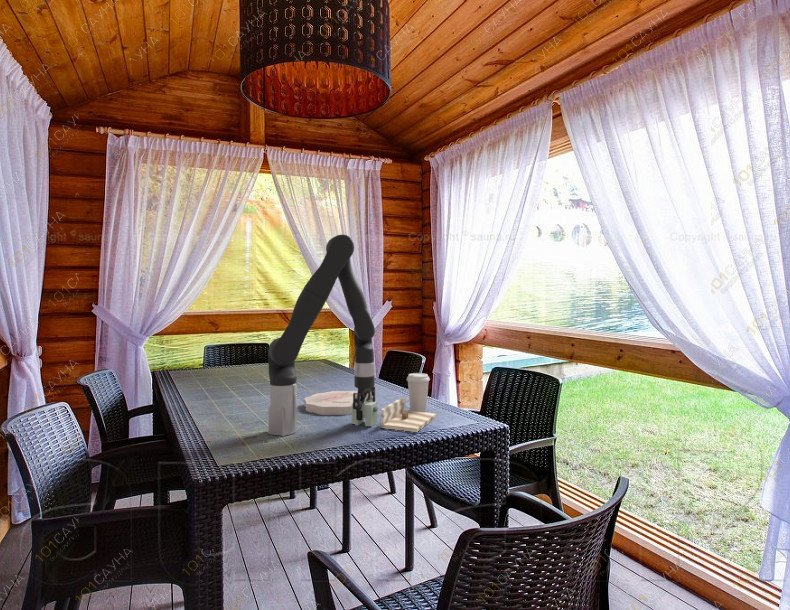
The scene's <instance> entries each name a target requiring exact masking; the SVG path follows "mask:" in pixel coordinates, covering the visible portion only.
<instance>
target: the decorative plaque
mask: <svg viewBox="0 0 790 610" xmlns="http://www.w3.org/2000/svg"><path fill="white" fill-rule="evenodd" d="M357 392H358V390H333V391H326V392H319V393H318V392H317V393H314V394H312V395H310V396H307V397H304V399H303V401H304V405H303V406H305V407H306V408H305V407H304V408H305V411H306V412H307V411H308V412H307V413H312V412H313V413H314V414H317V415H322V416H331V415H332V416H334V415H335V416H347V415H346V414H349V415H352V403H353V393H357ZM372 397H373V396H372Z"/></svg>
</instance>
